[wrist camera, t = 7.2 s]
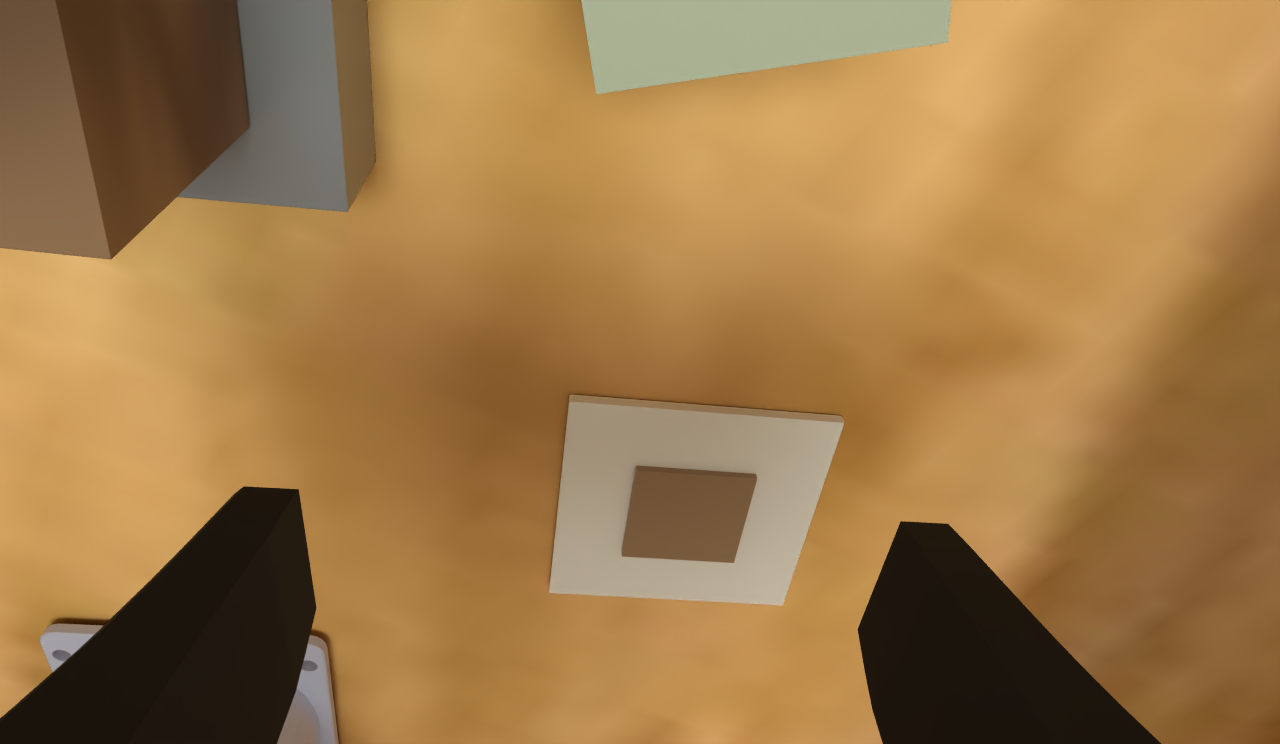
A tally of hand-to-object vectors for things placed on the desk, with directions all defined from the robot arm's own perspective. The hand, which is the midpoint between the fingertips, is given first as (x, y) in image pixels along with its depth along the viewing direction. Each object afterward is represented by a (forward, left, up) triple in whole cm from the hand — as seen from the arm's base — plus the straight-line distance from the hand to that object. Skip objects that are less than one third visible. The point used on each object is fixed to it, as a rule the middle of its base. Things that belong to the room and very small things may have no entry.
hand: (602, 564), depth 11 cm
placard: (-8, -3, -10) cm, 13 cm away
